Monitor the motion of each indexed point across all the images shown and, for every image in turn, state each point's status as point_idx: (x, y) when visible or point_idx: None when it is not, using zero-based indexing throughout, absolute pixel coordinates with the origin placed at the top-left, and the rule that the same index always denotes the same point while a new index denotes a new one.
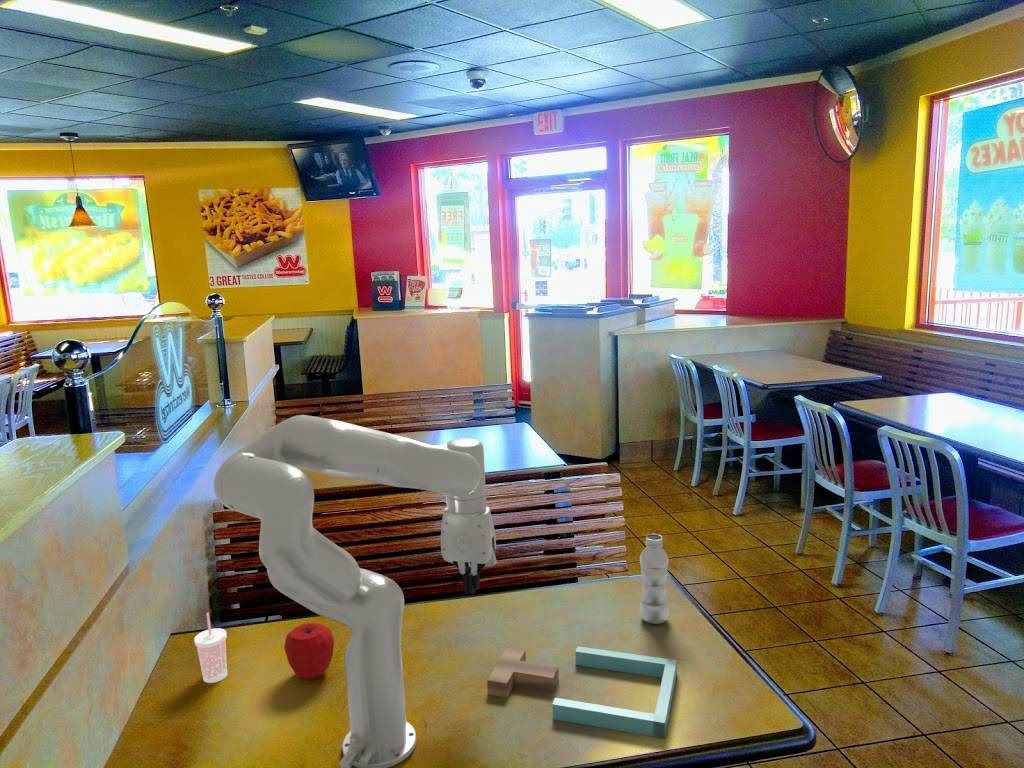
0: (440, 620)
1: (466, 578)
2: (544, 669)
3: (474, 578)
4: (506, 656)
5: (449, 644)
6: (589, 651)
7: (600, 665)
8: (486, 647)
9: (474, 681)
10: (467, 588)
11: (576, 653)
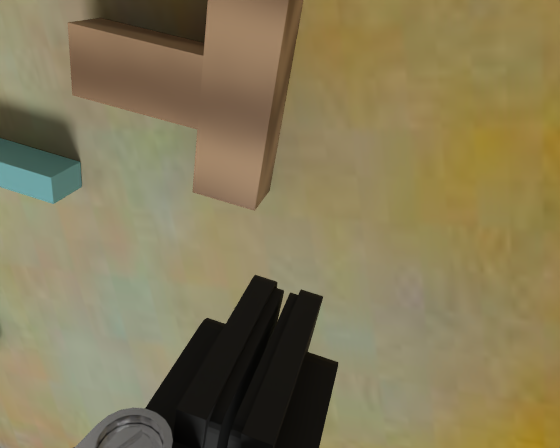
0: (513, 414)
1: (256, 399)
2: (107, 75)
3: (180, 391)
4: (246, 155)
5: (475, 289)
6: (16, 176)
7: (10, 146)
8: (345, 262)
9: (364, 66)
10: (286, 319)
11: (52, 174)
